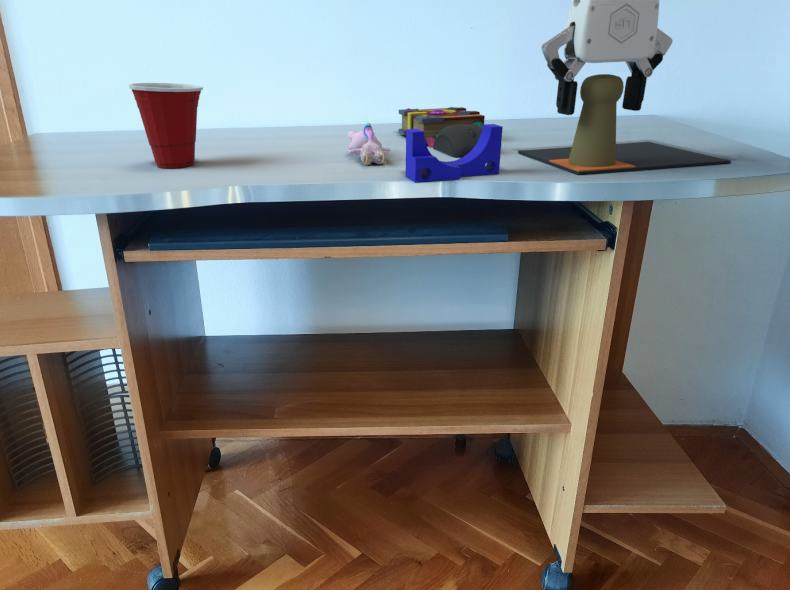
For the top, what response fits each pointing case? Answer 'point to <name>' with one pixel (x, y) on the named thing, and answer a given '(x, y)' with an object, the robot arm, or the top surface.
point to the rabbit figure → (367, 146)
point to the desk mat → (628, 158)
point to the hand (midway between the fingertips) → (598, 111)
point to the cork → (597, 122)
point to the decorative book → (437, 120)
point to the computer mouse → (457, 139)
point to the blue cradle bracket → (431, 169)
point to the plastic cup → (169, 120)
